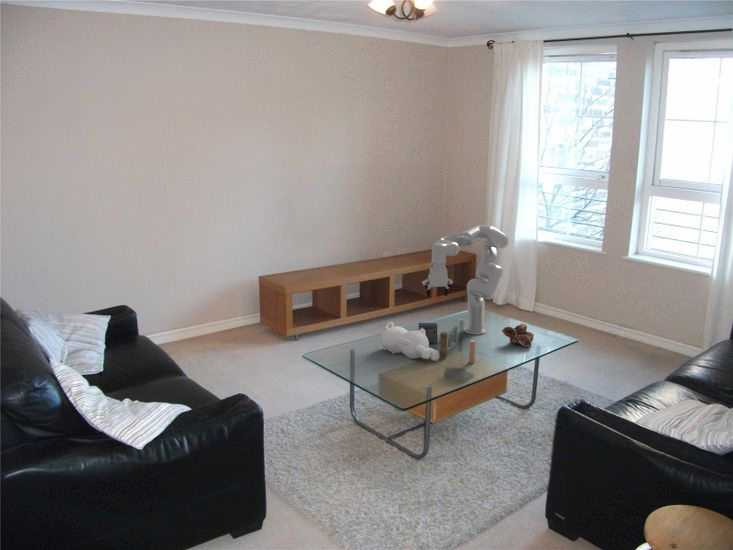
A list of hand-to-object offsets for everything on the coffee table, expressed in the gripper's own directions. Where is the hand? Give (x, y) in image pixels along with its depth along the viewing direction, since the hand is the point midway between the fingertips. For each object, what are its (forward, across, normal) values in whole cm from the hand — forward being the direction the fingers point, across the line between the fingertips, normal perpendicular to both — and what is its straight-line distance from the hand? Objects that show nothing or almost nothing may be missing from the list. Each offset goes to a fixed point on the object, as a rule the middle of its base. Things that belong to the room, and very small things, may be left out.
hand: (437, 295), depth 363 cm
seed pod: (+28, +47, -10) cm, 55 cm away
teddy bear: (+29, -19, -12) cm, 37 cm away
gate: (+27, +5, -11) cm, 30 cm away
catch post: (+28, +11, -29) cm, 42 cm away
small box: (+28, -3, +5) cm, 29 cm away
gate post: (+28, -2, -20) cm, 35 cm away
